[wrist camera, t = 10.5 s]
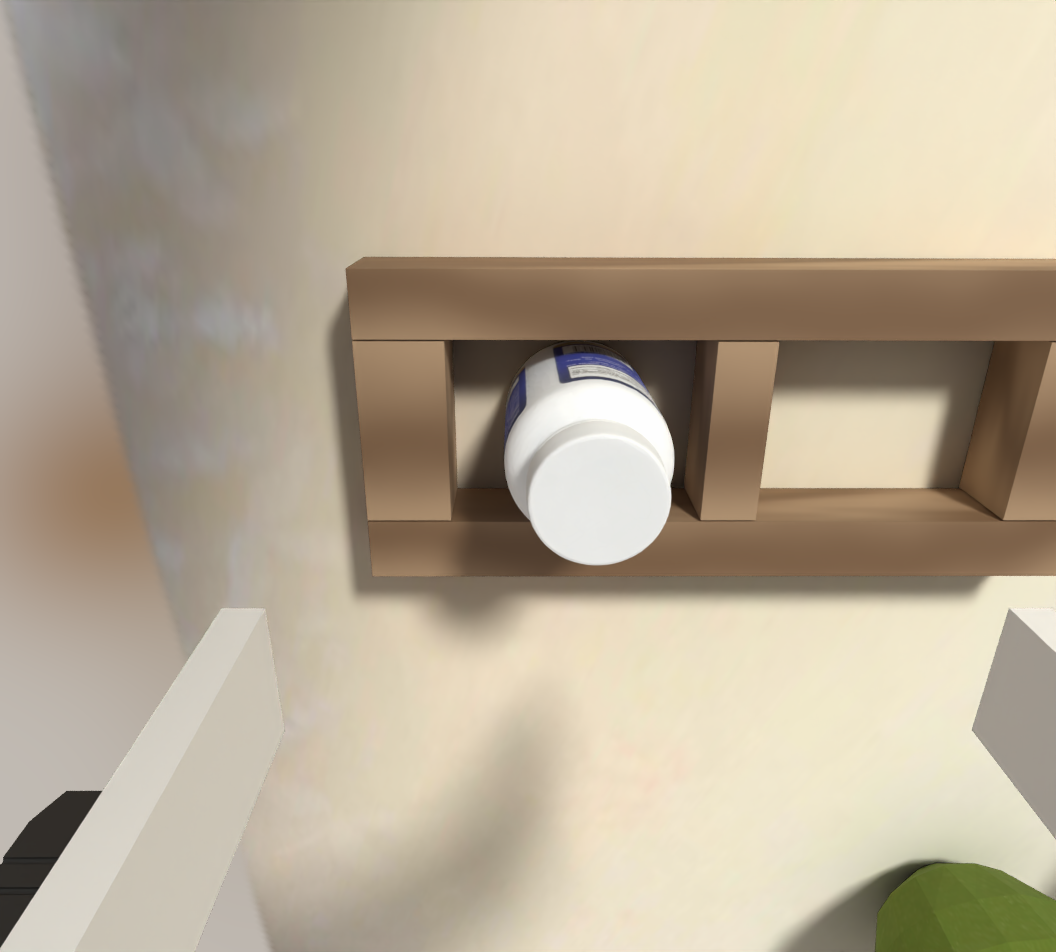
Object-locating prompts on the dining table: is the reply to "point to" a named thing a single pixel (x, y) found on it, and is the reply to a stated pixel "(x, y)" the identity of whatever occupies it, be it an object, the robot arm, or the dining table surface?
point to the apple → (965, 913)
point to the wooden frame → (711, 410)
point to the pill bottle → (587, 453)
